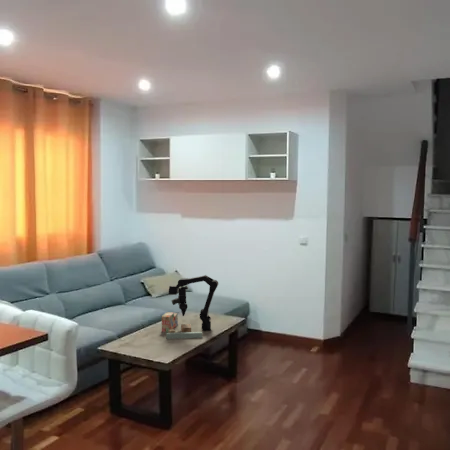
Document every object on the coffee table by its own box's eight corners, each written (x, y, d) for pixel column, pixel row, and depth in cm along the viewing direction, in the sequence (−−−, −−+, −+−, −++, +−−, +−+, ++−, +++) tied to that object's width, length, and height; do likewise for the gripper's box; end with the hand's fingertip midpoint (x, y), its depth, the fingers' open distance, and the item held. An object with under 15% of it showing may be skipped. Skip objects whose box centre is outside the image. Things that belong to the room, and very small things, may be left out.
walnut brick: (190, 330, 377) (190, 324, 377) (191, 334, 367) (191, 327, 367) (181, 330, 376) (181, 324, 376) (181, 334, 366) (181, 328, 366)
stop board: (201, 336, 361) (201, 331, 361) (202, 337, 358) (202, 332, 358) (166, 337, 358) (166, 332, 358) (166, 338, 355) (166, 334, 355)
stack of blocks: (170, 324, 393) (170, 309, 392) (177, 324, 392) (177, 309, 391) (161, 331, 372) (161, 316, 372) (169, 332, 371) (169, 316, 370)
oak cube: (173, 334, 366) (173, 329, 366) (175, 335, 362) (175, 330, 362) (168, 335, 365) (168, 329, 364) (169, 336, 361) (169, 331, 361)
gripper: (171, 292, 387) (171, 312, 388) (172, 297, 369) (173, 318, 370) (185, 292, 389) (185, 311, 390) (187, 297, 370) (187, 317, 371)
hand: (182, 314), depth 380 cm, fingers open, 9 cm apart
